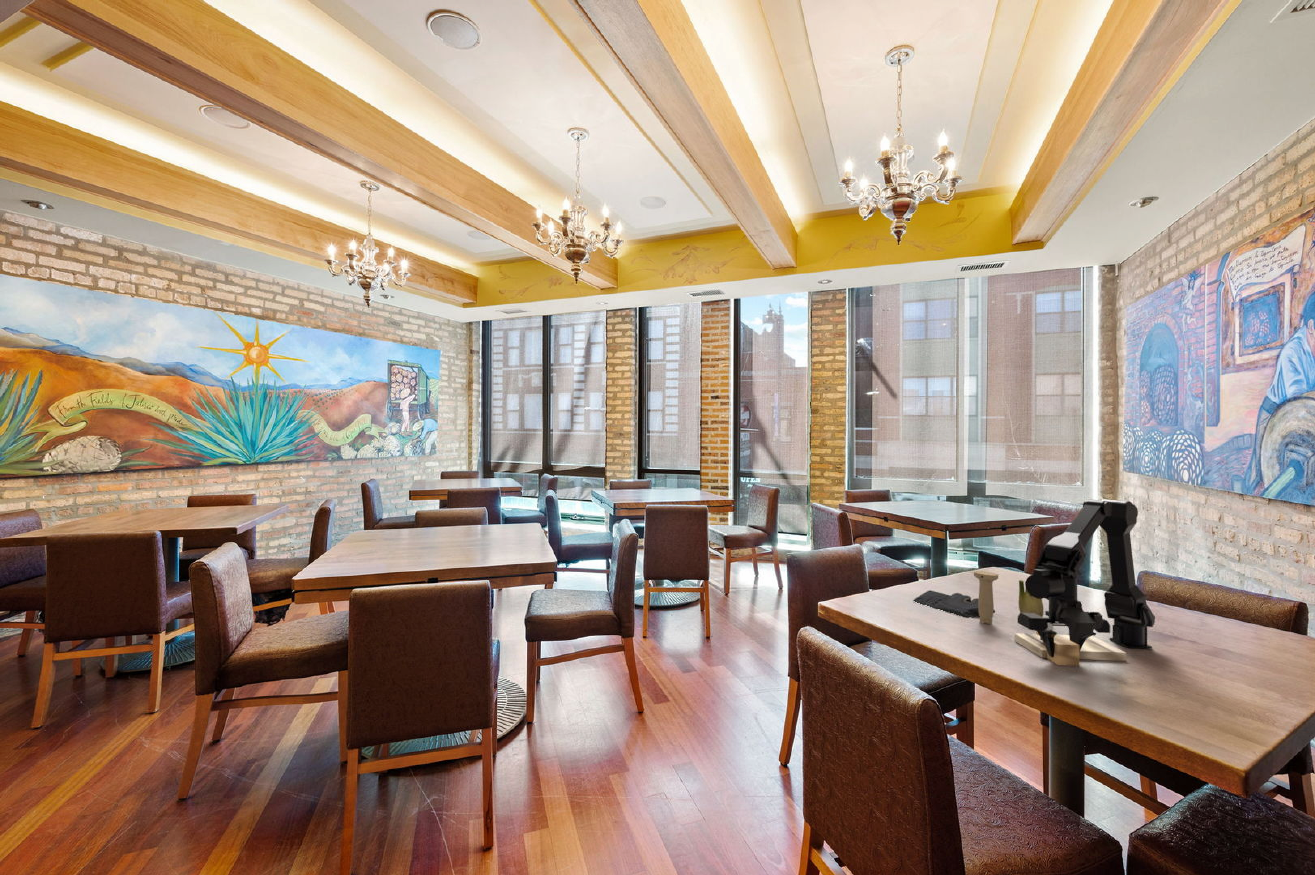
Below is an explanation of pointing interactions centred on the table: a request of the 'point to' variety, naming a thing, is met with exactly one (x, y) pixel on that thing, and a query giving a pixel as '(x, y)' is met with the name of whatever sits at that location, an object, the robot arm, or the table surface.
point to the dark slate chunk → (950, 603)
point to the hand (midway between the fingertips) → (1062, 657)
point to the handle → (985, 595)
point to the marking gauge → (1064, 652)
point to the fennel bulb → (1029, 601)
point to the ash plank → (1089, 650)
